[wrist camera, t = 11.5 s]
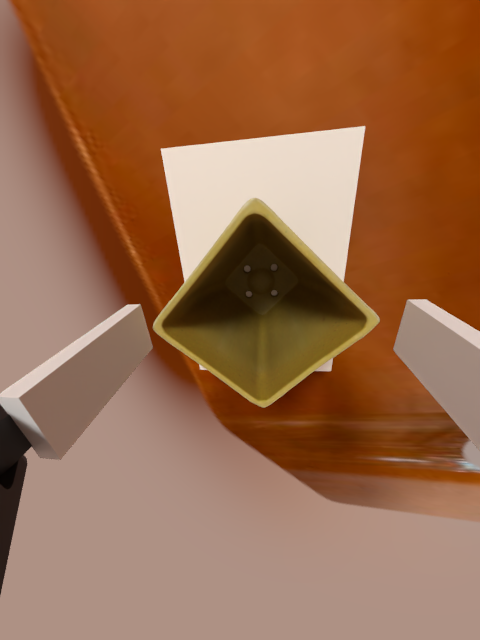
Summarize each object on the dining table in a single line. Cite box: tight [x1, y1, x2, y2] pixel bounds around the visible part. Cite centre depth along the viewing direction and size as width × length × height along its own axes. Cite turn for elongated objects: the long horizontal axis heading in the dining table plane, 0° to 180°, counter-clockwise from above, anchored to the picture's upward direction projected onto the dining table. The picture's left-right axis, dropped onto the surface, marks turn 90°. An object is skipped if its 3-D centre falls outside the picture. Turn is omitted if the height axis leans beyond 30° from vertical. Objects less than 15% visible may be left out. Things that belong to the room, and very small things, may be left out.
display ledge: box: [161, 126, 365, 371], centre depth 22 cm, size 14×20×4 cm
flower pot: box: [153, 198, 380, 408], centre depth 16 cm, size 9×9×9 cm
